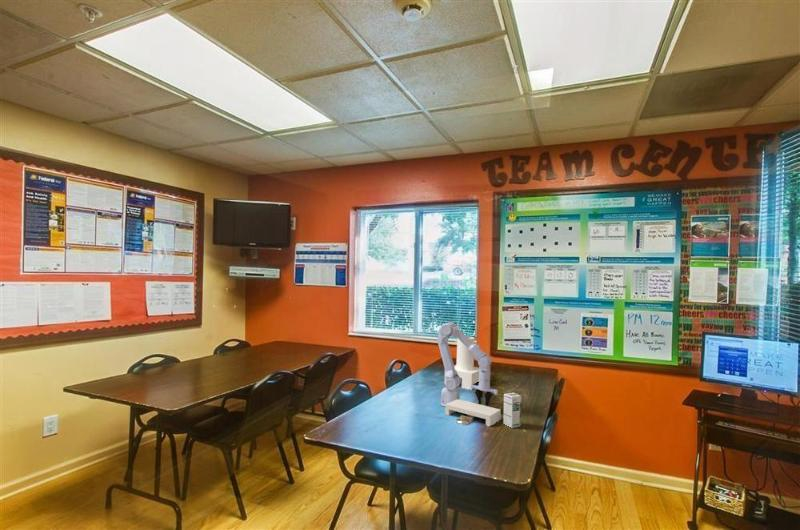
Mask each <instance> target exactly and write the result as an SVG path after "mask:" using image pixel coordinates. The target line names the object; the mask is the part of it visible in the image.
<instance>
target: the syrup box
mask: <svg viewBox="0 0 800 530" xmlns="http://www.w3.org/2000/svg"><path fill="white" fill-rule="evenodd" d="M504 424H505V426H506V425H507V427H508V426H509V427H508V428H510V427H511V428H510V429H513V428H518V427H519V428H520V427H521V426H522V425H521V424H522V395H521V394H518V393H516V392H509V393H504V394H503V425H504Z"/></svg>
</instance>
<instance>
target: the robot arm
mask: <svg viewBox="0 0 800 530" xmlns="http://www.w3.org/2000/svg"><path fill="white" fill-rule="evenodd" d="M466 336H467V335H466V334H465V333H464V332H463V331H462V330H461V329H460V327H459V326H458V325H456V324H455V323H454V322H452V321H449V322H445V323H443V324H442V325H441V326H440V328H439V329H438V335H437V339H436V341H437V344H438V347H439V352H440V356H441V360H442V363H443V368H444V372H445V371H446V374H445V373H444V380H445V379H446V382H445V381H444V386H445V387H443V388H442V389H441V393H440V404H439V405H440V406H442V407H446V404H447V403H450V402H452V401H454V400H457V399H459V400H461V399H460V397H461V395H460V394H461V388H460V385H462V379H461V378H460V377H459V376H458V373H457V371H456V370H455V368H454V365H455V364H454V361H453V357H452V354H451V350H450V346H449V342H448V340H449V339H450V338H451V337H453V338H456V339H457V338H458V339H459V340H460V341H461V342H462V343H463V344H464V345H465V346H466V347H467V348H468V352H469V353H470V354H471V355H472V356H473V357H474V360H476V361H477V364H478V366H479V367H478V368H479V383H478V384H477V385H476V384H473V385H471V389H472V390H474V393H475V396H476V398H477V401H478V404H480V405H481V397H482V396H485V406H488V405H490V401H491V399H492V397H493V395H496V396H497V395H499V390H498V389H495V388H492V387H491V364H492V358H491V356H490V355H489V354H487V352H484V350H482V349H481V348H480V347H481V346H480V344H476V343H474V344H472V343H471V341H470V340H469V339H468V338H467V337H466ZM484 392H485V393H484ZM488 407H489V406H488Z"/></svg>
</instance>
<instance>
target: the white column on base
mask: <svg viewBox="0 0 800 530" xmlns="http://www.w3.org/2000/svg"><path fill="white" fill-rule="evenodd" d="M465 336H466V337H467V338H468V339H469V340H470V341H471V343H472V344H475V337H473V336H468V335H465ZM456 339H457V342H456V364H454V368H455V370H456V371H457V373H458V376H459V377H460V378H461V389H464V388H465V389H464V390H469V389H470V390H469V391H472V390H473V389H471V385H476V383H477V382H479V367H478V366H474V365H475V364H474V362H475V358H474V357H473V356H472V355H471V354H470V353H469V352H468V348H467V347H466V346H465V345H464V344H463V343H462V342H461V341H460V340H459V339H458V338H457V337H456ZM445 374H446V371H445V370H444V375H445ZM445 382H446V379H445V378H444V383H445ZM477 384H478V383H477Z"/></svg>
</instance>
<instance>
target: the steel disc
mask: <svg viewBox="0 0 800 530" xmlns="http://www.w3.org/2000/svg"><path fill="white" fill-rule="evenodd" d="M456 424H457V425H460V424H462V426H468V425H470V422H469V420H467V419H460V418H457V419H456ZM467 424H468V425H467Z"/></svg>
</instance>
